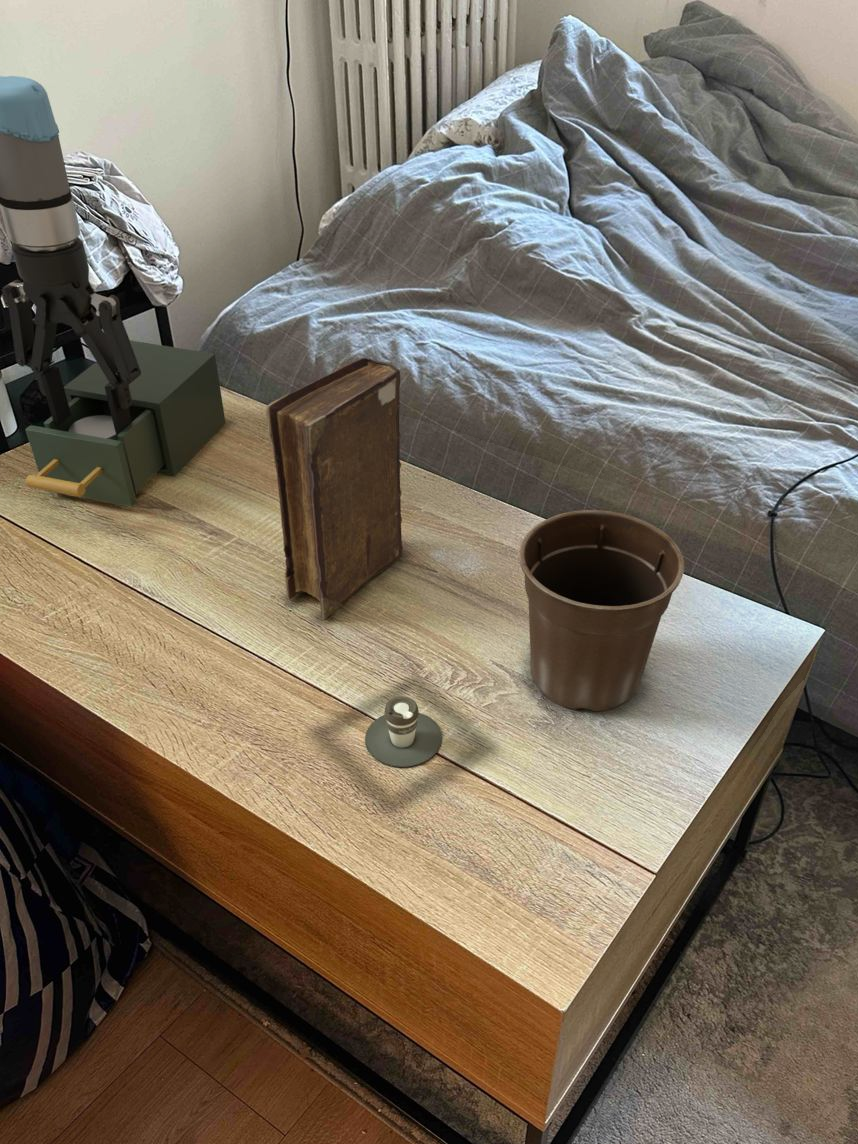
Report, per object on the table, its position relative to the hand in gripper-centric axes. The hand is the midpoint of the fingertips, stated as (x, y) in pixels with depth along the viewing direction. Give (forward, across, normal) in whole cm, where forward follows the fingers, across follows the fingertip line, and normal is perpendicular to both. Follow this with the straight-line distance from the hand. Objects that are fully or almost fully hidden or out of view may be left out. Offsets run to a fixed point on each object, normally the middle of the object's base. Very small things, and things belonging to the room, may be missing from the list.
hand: (93, 424), depth 123 cm
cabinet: (+9, 0, -13) cm, 16 cm away
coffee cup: (+9, -52, +33) cm, 62 cm away
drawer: (+8, 0, 0) cm, 8 cm away
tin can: (+7, 0, 0) cm, 7 cm away
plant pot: (+9, -68, +18) cm, 71 cm away
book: (+9, -38, +9) cm, 40 cm away
